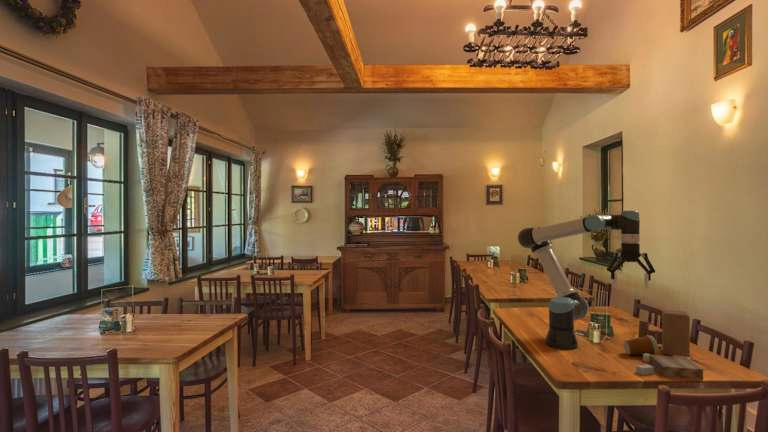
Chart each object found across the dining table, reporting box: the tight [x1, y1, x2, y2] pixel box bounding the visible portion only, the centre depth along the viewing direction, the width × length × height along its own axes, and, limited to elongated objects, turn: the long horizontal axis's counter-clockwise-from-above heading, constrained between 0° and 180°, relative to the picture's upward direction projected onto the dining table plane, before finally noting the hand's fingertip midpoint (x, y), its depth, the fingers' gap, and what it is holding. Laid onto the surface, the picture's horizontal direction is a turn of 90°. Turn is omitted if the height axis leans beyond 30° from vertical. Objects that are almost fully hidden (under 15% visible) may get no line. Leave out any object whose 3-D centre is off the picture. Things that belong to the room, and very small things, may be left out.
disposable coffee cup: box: [623, 335, 660, 356], centre depth 188 cm, size 10×10×12 cm
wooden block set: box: [637, 319, 662, 345], centre depth 207 cm, size 18×9×10 cm, turn 171°
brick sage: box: [642, 353, 651, 363], centre depth 179 cm, size 6×3×3 cm, turn 39°
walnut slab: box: [649, 354, 704, 380], centre depth 168 cm, size 14×14×4 cm
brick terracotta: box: [673, 354, 691, 361], centre depth 177 cm, size 6×3×3 cm, turn 46°
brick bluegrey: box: [635, 364, 655, 376], centre depth 166 cm, size 6×3×3 cm, turn 103°
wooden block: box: [661, 308, 691, 358], centre depth 189 cm, size 10×10×20 cm
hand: (630, 286), depth 191 cm, fingers open, 13 cm apart
